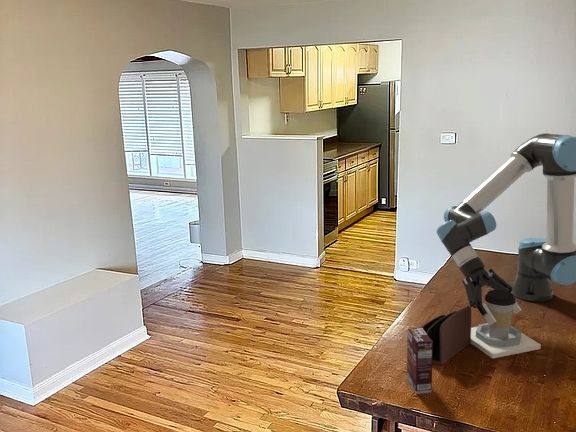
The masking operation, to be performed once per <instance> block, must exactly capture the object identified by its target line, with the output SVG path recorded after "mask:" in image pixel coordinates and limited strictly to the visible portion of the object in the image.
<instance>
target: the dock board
mask: <svg viewBox="0 0 576 432" xmlns="http://www.w3.org/2000/svg"><path fill="white" fill-rule="evenodd" d="M470 344H471V345H473V346H474V347H475V348H477V349H478V350H480V351H481V352H483V353H484V354H485V355H487V356H488V357H489V358H491V359H497V358H502V357H507V356H511V355H512V356H513V355H517V354H523V353H527V352H531V351H537V350H541V347H542V344H541V343H540V342H538V341H536V340H534V339H532V338H530V337H529V336H527V335H525V334H524V333H523V332H522V331H521V330H519V329H518V328H516V327H515V326H513V325H510V329H509V335H508V339H506V340H502V339H496V338H491V337H489V328H488V322H485V323H479V324H478V325H477V326H474V327H471V343H470Z"/></svg>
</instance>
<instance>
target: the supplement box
mask: <svg viewBox="0 0 576 432" xmlns="http://www.w3.org/2000/svg"><path fill="white" fill-rule="evenodd" d="M406 335H407V336H406V337H407V338H406V339H407V340H406V341H407V343H406V344H407V345H406V346H407V349H406V352H407V354H406V379H407V380H408V382H409V383H410V384H409V385H411V387H412V389H413V390H414V393H415V395H418V394H419V395H420V394H430V393H431V394H432V389H433V386H432V385H433V363H432V356H433V341H432V340H431V339H430V338H429V336H428V335H427V334H426V332H425V331H424V329H423V328H421V327H415V328H414V327H413V328H407V334H406Z"/></svg>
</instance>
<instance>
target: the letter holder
mask: <svg viewBox="0 0 576 432" xmlns="http://www.w3.org/2000/svg"><path fill="white" fill-rule="evenodd" d="M420 328H423V329H424V331H425V332H426V334H427V335H428V336H429V338H430V339H431V340H432V341H433V356H432V364H435V365H438V366H443V365H444V364H445V363H446V362H447V361H449V360H450V359H452V358H453V357H454V356H455V355H457V354H458V353H460V351H462V350H463V349H465V348H466V347H467V346H468V345H470V344H471V328H472V307H471V306H470V305H468V306H465V307H463V308H461V309H458V310H457V311H456V310H455V311H452V312H450V313H448V314H441V315H439V316H435V317H434V318H433V319H431V320H429V321H428V322H426V323H424V324H423V325H422V326H421V327H420Z"/></svg>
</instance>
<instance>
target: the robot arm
mask: <svg viewBox="0 0 576 432" xmlns="http://www.w3.org/2000/svg"><path fill="white" fill-rule="evenodd" d="M541 166H542V176H544V177H545V178H546V179H547V186H546V189H547V190H546V192H547V193H546V194H547V196H546V238H543V237H532V238H531V237H530V238H529V237H528V238H523V239H521V240H520V241H519V245H518V254H517V269H516V270H517V272H516V276H515V279H514V282H513V284H512V286H511V285H510V284H509V283H508V282H507V281H505V280H504V279H503V278H502V277H500V276H499V275H498V274H497V273H496V272H495V271H494V269H493V268H489V269H488V270H486V269H485V264H484V262H483V261H482V259H481V258H480V257H479V255H478V253H477V252H476V251H475V248H474V247H473V246H472V245H471V242H473V241H476V240H478V239H480V238H482V237H484V236H486V235H489V234H490V233H491V232H493V231H495V230H496V229H497V221H496V219H495V217H494V215H493V214H492V213H491V212H489V211H487V210H485V209H486V208H488V207H489V206H490V205H491V204H492V203H493V202H495V200H496V199H498V197H500V196H501V195H502V194H503V193H504V192H505V191H507V189H508V188H510V187H511V186H512V185H513V184H515V182H517V181H518V180H519V179H520V178H521V177H522V176H523V175H524V174H525V173H531V172H532V171H533V170H534V169H535V168H537V167H541ZM575 178H576V136H573V135H569V134H554V133H548V132H547V133H546V132H545V133H540V134H537V135H535V136H533V137H531V138H529V139H527V140H526V141H525V142H523V143H522V144H520V145H519V146H517V148H516V149H514V151H512V152H511V153H510V157H509V158H508V159H507V160H506V161H505V162H504V163H503V164H502V165H501V166H500V167H499V168H497V170H495V171H494V172H493V173H492V174H491V175H490V176H489V177H488V178H486V179H485V181H483V183H481V184H480V185H479V186H478V187H477V188H475V189H474V190H473V191H472V192H471V193H470V194H469V195H468V196H467V197H466V198H465V199H463V200H462V201H461V202H460V203H459V204H458V205H457V206H456V205H455V206H454V205H453V206H448V207H447V208H446V209H445V211H444V212H443V213H444V214H443V220H444V223H442V224H441V225H440V226H438V227H437V229H436V235H437V237H438V238H439V240H440V242H441V243H442V244H443V246H444V248H445V249H446V250H447V252H448V254H450V256H451V258H452V259H453V261H454V262H455V264H456V265H457V267H459V270H460V271H461V274H462V275H463V276H464V279H462V280H461V282H462V284H463V286H464V287H465V292H466V296H467V301H468V304H469V305H468V306H470V307H471V308H472V307H473V309H477V310H478V311H479V313H480V314H481V316H483V318H484V319H485V321H486V323H488V324H489V325H491V324H493V323H494V322H496V320H495V318H494V317H493V315H492V314H491V312H490V310H489V309H488V307H487V303H485V302H483V293H482V292H483V291H482V290H483V289H482V288H483V287H490V288H491V289H492V290H504V291H508V292H510V293H512V294H513V296H514V297H515V298H518V299H520V300H524V301H529V302H538V303H539V302H541V303H542V302H547V301H550V300H552V299H553V295H554V290H553V288H552V284H551V281H552V282H553V283H556V284H559V285H562V286H569V285H572V284H574V283H576V244H575V243H574V218H575V217H574V214H575V213H574V211H575V206H574V205H575ZM484 210H485V211H484ZM521 311H522V308H521V307H520V305H519V304H518V303H517V301H516V303H515V304H514V306H513V314H515V315H516V314H518V313H520V312H521Z"/></svg>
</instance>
